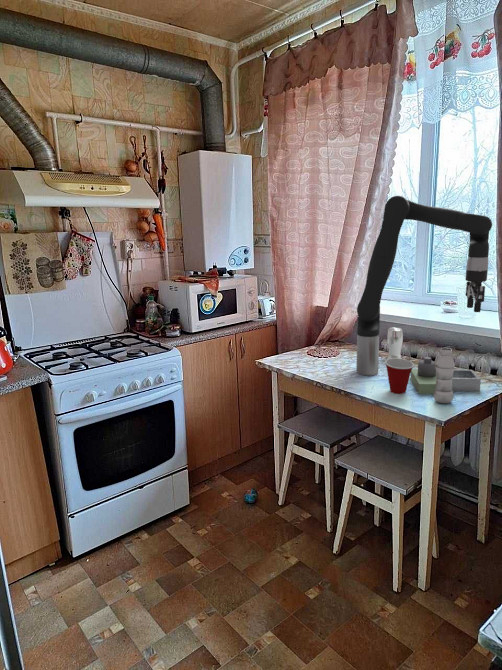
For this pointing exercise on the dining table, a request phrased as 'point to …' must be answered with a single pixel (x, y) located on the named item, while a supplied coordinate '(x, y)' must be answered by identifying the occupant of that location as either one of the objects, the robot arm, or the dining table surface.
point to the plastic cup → (398, 374)
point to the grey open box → (465, 381)
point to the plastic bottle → (444, 377)
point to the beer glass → (395, 342)
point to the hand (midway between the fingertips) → (473, 309)
